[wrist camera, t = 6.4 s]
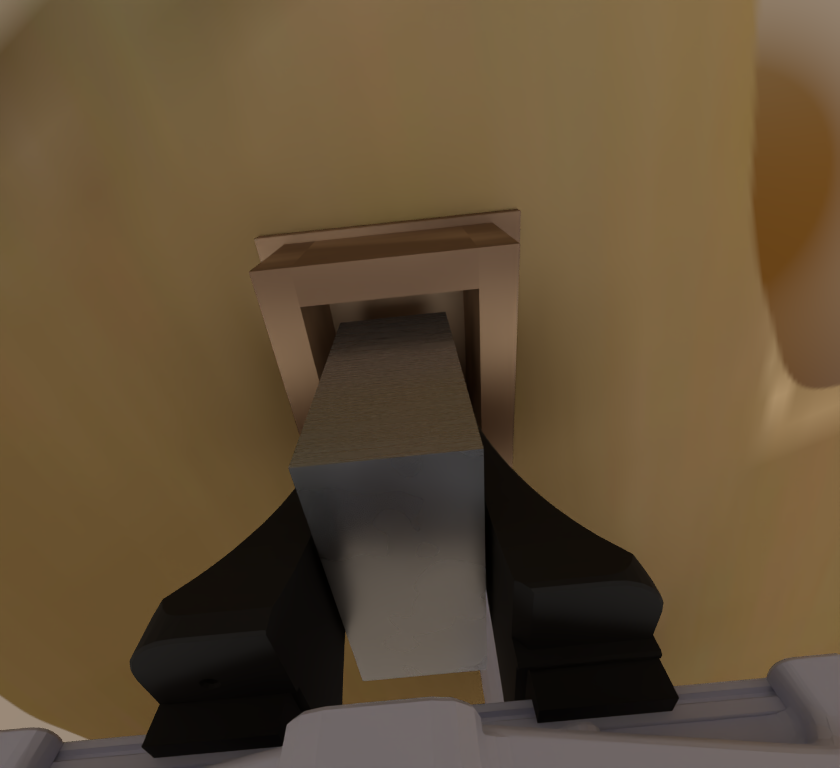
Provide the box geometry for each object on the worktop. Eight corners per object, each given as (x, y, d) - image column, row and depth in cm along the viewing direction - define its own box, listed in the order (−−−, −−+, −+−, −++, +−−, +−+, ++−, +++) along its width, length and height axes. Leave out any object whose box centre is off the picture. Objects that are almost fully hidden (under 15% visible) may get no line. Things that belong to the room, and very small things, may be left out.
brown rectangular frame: (509, 465, 22) (533, 533, 18) (329, 482, 22) (313, 554, 18) (517, 209, 15) (557, 228, 11) (258, 236, 15) (209, 264, 11)
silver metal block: (456, 487, 17) (487, 669, 11) (376, 495, 17) (362, 680, 11) (445, 311, 13) (483, 448, 7) (340, 322, 13) (288, 467, 7)
